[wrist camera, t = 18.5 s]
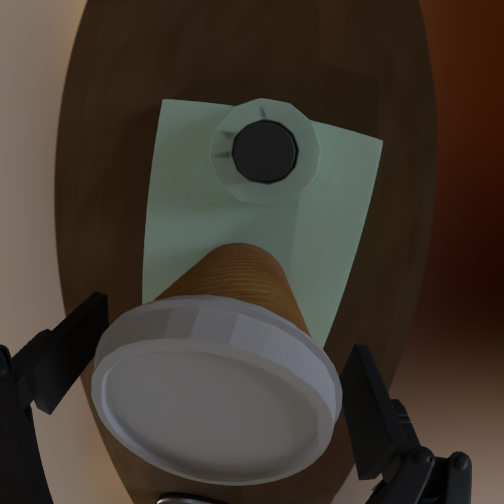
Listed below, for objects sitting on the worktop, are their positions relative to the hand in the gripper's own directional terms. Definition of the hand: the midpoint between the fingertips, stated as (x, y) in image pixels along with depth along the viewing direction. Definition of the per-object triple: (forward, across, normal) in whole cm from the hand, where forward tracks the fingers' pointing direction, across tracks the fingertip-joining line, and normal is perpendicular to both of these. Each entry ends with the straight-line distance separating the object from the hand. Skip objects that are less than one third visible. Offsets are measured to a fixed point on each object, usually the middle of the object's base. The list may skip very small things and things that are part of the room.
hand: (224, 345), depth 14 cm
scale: (+7, 0, -3) cm, 8 cm away
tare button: (+4, 0, -9) cm, 10 cm away
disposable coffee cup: (+6, 0, 0) cm, 6 cm away
